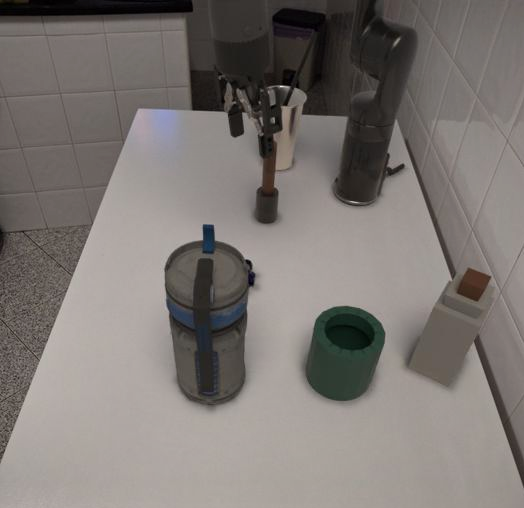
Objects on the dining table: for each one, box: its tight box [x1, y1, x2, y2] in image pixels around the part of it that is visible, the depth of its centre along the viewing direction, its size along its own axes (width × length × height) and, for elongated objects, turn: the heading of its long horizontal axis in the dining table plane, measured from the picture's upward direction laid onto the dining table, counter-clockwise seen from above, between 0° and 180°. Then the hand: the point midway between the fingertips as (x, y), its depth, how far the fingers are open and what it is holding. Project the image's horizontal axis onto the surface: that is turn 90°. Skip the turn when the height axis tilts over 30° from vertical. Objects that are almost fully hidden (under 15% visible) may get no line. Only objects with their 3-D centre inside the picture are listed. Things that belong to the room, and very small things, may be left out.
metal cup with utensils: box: [261, 27, 319, 171], centre depth 107 cm, size 11×11×30 cm
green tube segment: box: [305, 305, 386, 402], centre depth 75 cm, size 10×10×10 cm
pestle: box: [255, 141, 280, 225], centre depth 99 cm, size 4×4×16 cm
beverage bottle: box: [163, 223, 250, 405], centre depth 67 cm, size 10×13×25 cm
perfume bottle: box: [407, 267, 496, 387], centre depth 75 cm, size 7×7×18 cm
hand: (251, 145), depth 79 cm, fingers open, 8 cm apart
